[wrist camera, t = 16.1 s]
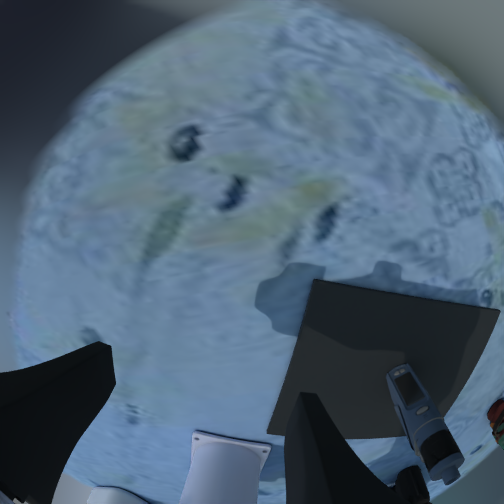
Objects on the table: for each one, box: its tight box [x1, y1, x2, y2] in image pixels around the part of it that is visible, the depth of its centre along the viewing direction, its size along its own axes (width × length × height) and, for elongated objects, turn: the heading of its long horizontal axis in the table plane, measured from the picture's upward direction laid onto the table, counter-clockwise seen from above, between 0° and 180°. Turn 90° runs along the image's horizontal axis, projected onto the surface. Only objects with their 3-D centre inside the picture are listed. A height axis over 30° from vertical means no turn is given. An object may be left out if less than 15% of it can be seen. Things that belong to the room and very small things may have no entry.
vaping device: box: [386, 363, 465, 485], centre depth 14 cm, size 3×5×12 cm, turn 26°
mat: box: [267, 279, 501, 439], centre depth 20 cm, size 16×20×1 cm
